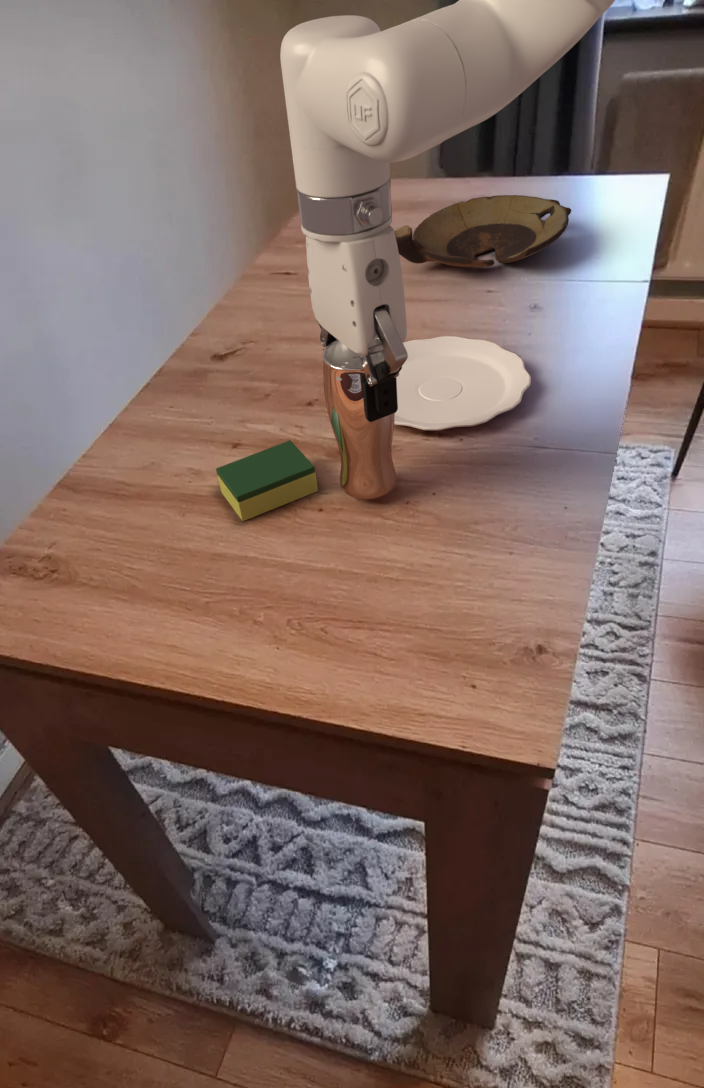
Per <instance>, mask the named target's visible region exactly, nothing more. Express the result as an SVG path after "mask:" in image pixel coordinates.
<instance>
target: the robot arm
mask: <svg viewBox="0 0 704 1088" xmlns="http://www.w3.org/2000/svg"><path fill="white" fill-rule="evenodd" d="M615 1H616V0H458V1H456V2H454V3H453V4H450V5H446V6H444V7H440V8H439V9H435V10H433V11H430V12H428V13H426V14H423V15H421V16H418V17H415V18H413V19H410V20H408V21H405V22H403V23H400V24H398V25H395V26H392V27H388V28H387V29H384V30H381V28H380V27H379V25H378V24H377V23H376V22H375V21H374V20H372V19H371V18H369V17H366V16H362V15H354V14H353V15H352V14H351V15H349V14H348V15H345V14H343V15H333V16H332V15H331V16H325V17H320V18H315V19H311V20H308V21H304V22H302V23H299V24H297V25H295V26H294V27H291V28H290V29H289V30H287V32H286V34H285V35H284V37H283V38H282V41H281V46H280V53H279V54H280V55H279V56H280V67H281V68H280V69H281V75H282V82H283V92H284V100H285V107H286V115H287V123H288V131H289V139H290V147H291V155H292V164H293V172H294V173H293V174H294V179H295V188H296V196H297V204H298V212H299V220H300V228H301V232H302V234H303V235H304V236H305V247H306V248H305V251H306V262H307V263H306V265H307V277H308V287H309V298H310V301H311V308H312V312H313V313H312V314H313V316H314V318H315V321H316V323H318V326H319V328H320V334H319V341H320V344H321V345H322V347H323V349H322V352H323V351H324V349H325V348H326V347H327V346H328V345H329V344H330V343H332V342H334V341H336V340H339V341H340V342H341V343H343V344H344V345H345V346H347V347H348V348H349V349H350V350H352V351H353V352H355V353H357V354H359V356H360V359H361V362H362V366H363V369H364V373H365V376H366V379H367V381H366V382H363V393H364V405H365V417H366V419H367V420H368V421H369V422H373V421H376V420H378V419H381V418H383V417H386V416H388V415H391V414H394V413H396V412H397V410H398V401H397V381H396V377H398V376H399V372H400V370H401V369H402V366H403V364H404V363H405V361H406V360H407V358H408V354H407V351H406V349H405V347H404V345H403V343H404V342H406V340H407V336H408V323H407V321H408V320H407V308H406V298H405V287H404V286H405V285H404V280H403V272H402V264H401V258H400V257H401V256H400V254H399V252H398V247H397V242H396V238H395V233H394V231H395V229H394V228H393V226H391V225H392V222H393V209H392V208H393V207H392V185H391V163H400V162H401V163H402V162H404V161H408V160H410V159H412V158H415V157H418V156H419V155H420V154H423V153H425V152H427V151H428V150H430V149H433V148H434V147H436V146H438V145H441V144H442V143H444V142H445V141H447V140H449V139H450V138H453V137H455V136H457V135H459V134H461V133H462V132H464V131H466V130H468V129H471V128H473V127H475V126H477V125H479V124H481V123H483V122H484V121H485V122H486V121H487V120H488V119H490V118H492V117H493V116H494V115H496V114H498V113H499V112H500V111H502V110H503V109H504V108H505V107H506V106H508V105H510V104H511V102H512V101H514V100H515V99H517V98H518V97H519V95H521V94H522V93H523V92H525V91H526V90H527V89H528V88H529V87H530V86H531V85H532V84H533V83H534V82H536V81H537V80H538V79H539V78H540V77H541V76H542V75H544V74H545V72H547V71H548V70H549V69H551V68H552V67H553V66H554V65H555V64H556V63H557V62H558V61H559V60H560V59H561V58H563V57H564V56H565V55H566V54H567V53H568V52H569V51H570V50H572V48H574V46H575V45H576V44H577V43H579V41H580V40H581V39H582V38H583V37H584V36H585V35H586V34H587V33H588V32H589V30H590V29H592V27H593V26H594V25H595V24H596V23H597V22H598V20H599V19H600V18H601V17H602V16H603V15H604V13H605V12H606V11H607V10H608V9H609V8H611V6H612V5H613V4H614V2H615ZM376 337H378V338H379V340H380V342H381V343H380V344H377V345H374V346H371V347H369V348H368V343H371V341H372V339H374V338H376ZM380 351H382V353H383V356H384V361H383V362H380V363H379V364H378V365H377V367H376V368H374V365H373V362H372V358H371V355H372V354H375V353H377V352H380Z"/></svg>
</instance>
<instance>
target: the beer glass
mask: <svg viewBox="0 0 704 1088" xmlns="http://www.w3.org/2000/svg"><path fill="white" fill-rule="evenodd" d="M380 343H381V342H380V340H379V338H378V337H376V338H374V339H372V341H371V343H368V348H369V347H371V346H374V345H377V344H380ZM323 349H324V351H323V350H322V354H321V358H322V377H323V391H324V392H323V393H324V401H325V406H326V411H327V415H328V418H329V423H330V425H331V429H332V431H333V435H334V438H335V440H336V443H337V447H338V451H339V456H340V471H339V472H340V473H339V486H340V489H341V491H342V492H343V493H344V494H346V495H348V496H349V497H352V498H354V499H359V500H371V499H378V498H381V497H384V496H385V495H387V494H389V493H390V492H391V491H393V490H394V489H395V487H396V485H397V483H398V474H397V471H396V467H395V464H394V461H393V452H392V450H393V448H392V446H393V437H394V431H395V426H396V425H395V418H396V413H394V414H391V415H388V416H386V417H383V418H381V419H378V420H376V421H373V422H369V421H368V420H367V419H366V417H365V405H364V393H363V382H366V381H367V379H366V376H365V373H364V369H363V366H362V362H361V359H360V356H359V354H357V353H355V352H353V351H352V350H350V349H349V348H348V347H347V346H345V345H344V344H343V343H341V342H340V341H339V340H336V341H334V342H332V343H330V344H329V345H328V346H327V347H324V348H323ZM371 358H372V362H373V365H374V368H376V367H377V365H378V364H379V363H380V362H383V361H384V356H383V353H382V351H380V352H377V353H375V354H372V355H371Z"/></svg>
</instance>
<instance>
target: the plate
mask: <svg viewBox="0 0 704 1088" xmlns="http://www.w3.org/2000/svg"><path fill="white" fill-rule="evenodd" d="M402 343H403V345H404V347H405V349H406V351H407V354H408V358H407V360H406V361H405V363H404V364H403V366H402V369H401V370H400V372H399V376H398V377H396V381H397V401H398V410H397V412H396V418H395V425H394V426H406V427H410V428H411V427H412V428H415V429H418V430H422V431H442V430H447V429H452V428H460V427H462V428H463V427H474V426H478V425H481V424H485V423H487V422H489V421H490V420H492V419H493V418H495V417H496V416H498V415H501V414H503V413H506V412H509V411H512V410H513V409H515V408H516V407H517V406H518V405H519V404H521V402H522V399H523V395H524V393H525V392H526V391H527V390H528V388H529V387H530V386H531V381H532V379H531V378H532V376H531V375H530V374H529V373H530V372H528V370H526V368H525V363H524V359H523V358H521V356H519V355H518V354H517V353H514V352H512V351H509V350H507V349H504V348H503V347H502V346H500V345H498V344H497V343H495V342H492V341H488V340H485V339H475V338H474V339H471V338H466V337H461V336H454V335H451V336H450V335H449V336H448V335H447V336H445V335H442V336H437V337H436V336H435V337H433V338H426V339H424V338H423V339H411V340H408V341H405V342H402Z"/></svg>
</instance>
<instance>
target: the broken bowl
mask: <svg viewBox="0 0 704 1088" xmlns="http://www.w3.org/2000/svg"><path fill="white" fill-rule="evenodd" d="M571 213H572V209H571V208H570V207H568V206H564V205H562V204H561V203H560V201H559V200H557V199H552V198H550V199H549V198H542V197H538V196H529V195H523V194H522V195H521V194H520V195H518V194H516V195H515V194H507V195H506V194H503V195H500V194H499V195H491V196H480V197H474V198H470V199H468V200H466V201H460V202H457V203H454V204H451V205H449V206H446V207H443V208H441V209H439V210H437V211H436V212H433V213H432V214H430V215H429V216H428V217H426V218H424V219H423V220H422V221H421V222H420V223H419V224H418V225H417V226H416V227H415V228H414V230H413V229H412V227H410V226H409V225H402V226H401V227H399V228H398V229H394V233H395V238H396V242H397V247H398V252H399V256H400V257H403V258H404V259H406V260H407V261H408V262H409V263H412V264H416V265H418V264H424V263H427V262H434V263H435V262H436V263H440V264H443V265H447V266H452V267H459V268H488V267H492V266H493V265H494V264H495V260H496V261H497V262H498V263H499V264H508V263H513V262H518V261H521V260H523V259H525V258H528V257H530V256H532V255H534V254H536V253H538V252H540V251H542V250H543V249H545V248H547V247H548V246H550V245H552V244H553V243H554V242H556V241H557V240H558V239H559V238H560V237H561V236H562V235H563V234H564V233H565V231H566V230H567V228H568V227H569V226H568V225H569V223H570V222H569V221H570V219H569V216H570V215H571ZM546 215H549V216H548V217H546V219H544V220H543V219H542V218H544V217H545V216H546ZM493 250H494V254H495V260H494V258H493V259H476V257H477V256H479V255H482V254H484V253H487V252H489V251H493Z"/></svg>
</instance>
